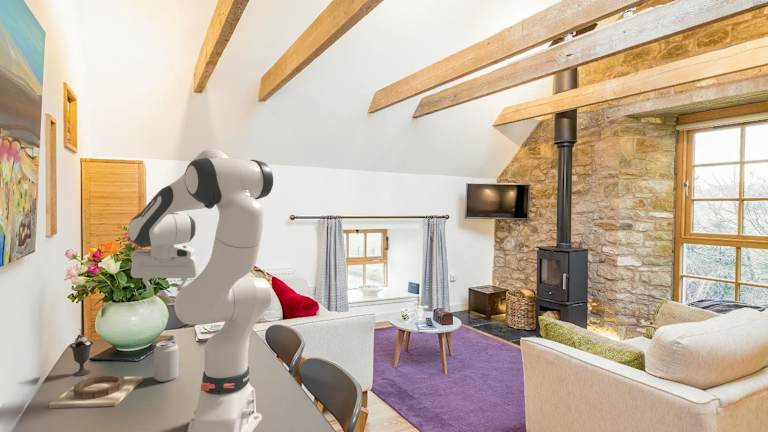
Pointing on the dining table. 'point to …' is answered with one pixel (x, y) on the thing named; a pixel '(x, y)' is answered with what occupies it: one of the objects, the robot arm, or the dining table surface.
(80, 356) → the sundae
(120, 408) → the dining table surface
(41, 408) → the dining table surface
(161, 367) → the can
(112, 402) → the ring board
